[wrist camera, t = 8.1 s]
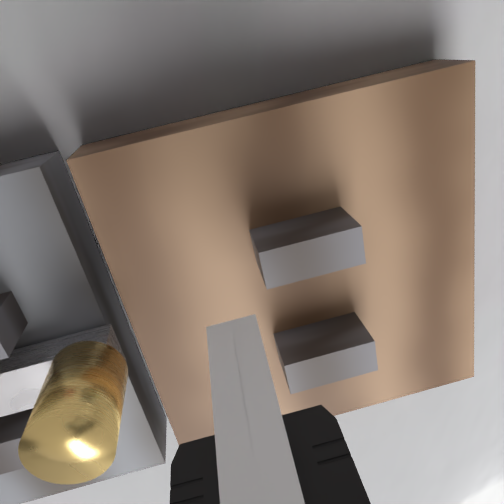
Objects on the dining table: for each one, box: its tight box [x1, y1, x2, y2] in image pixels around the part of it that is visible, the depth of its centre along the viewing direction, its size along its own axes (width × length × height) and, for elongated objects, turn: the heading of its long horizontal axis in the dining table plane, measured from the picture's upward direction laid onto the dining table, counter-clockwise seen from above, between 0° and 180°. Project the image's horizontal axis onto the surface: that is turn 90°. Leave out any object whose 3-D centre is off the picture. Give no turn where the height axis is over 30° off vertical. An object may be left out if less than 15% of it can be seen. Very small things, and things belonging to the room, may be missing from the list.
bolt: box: [0, 324, 128, 485], centre depth 17 cm, size 8×3×6 cm, turn 102°
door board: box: [0, 59, 475, 504], centre depth 20 cm, size 27×16×5 cm, turn 102°
